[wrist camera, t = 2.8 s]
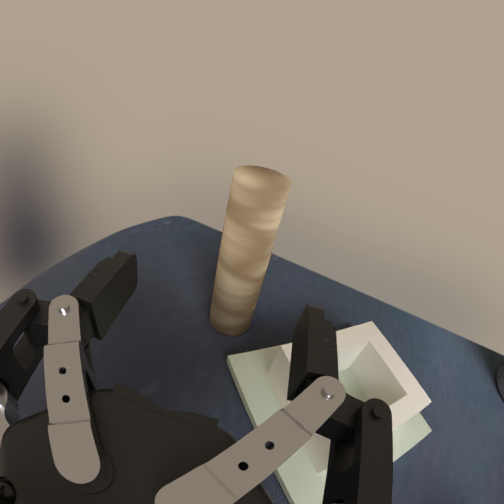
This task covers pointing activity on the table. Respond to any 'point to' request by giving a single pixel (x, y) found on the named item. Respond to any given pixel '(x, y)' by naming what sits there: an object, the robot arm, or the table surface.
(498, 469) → the table surface
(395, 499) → the table surface
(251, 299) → the peg
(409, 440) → the socket
